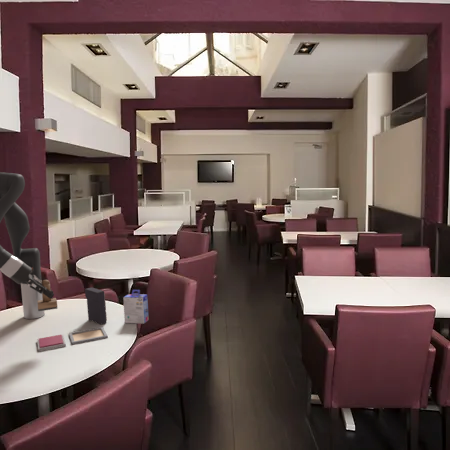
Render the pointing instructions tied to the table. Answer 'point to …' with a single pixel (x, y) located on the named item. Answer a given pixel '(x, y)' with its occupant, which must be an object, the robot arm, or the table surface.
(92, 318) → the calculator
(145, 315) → the ink cartridge box
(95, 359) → the table surface
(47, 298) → the wooden stamp
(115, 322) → the table surface
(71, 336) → the grey flat frame
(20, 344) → the table surface
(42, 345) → the ink pad
